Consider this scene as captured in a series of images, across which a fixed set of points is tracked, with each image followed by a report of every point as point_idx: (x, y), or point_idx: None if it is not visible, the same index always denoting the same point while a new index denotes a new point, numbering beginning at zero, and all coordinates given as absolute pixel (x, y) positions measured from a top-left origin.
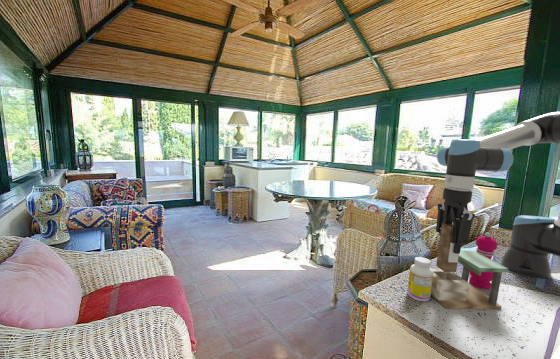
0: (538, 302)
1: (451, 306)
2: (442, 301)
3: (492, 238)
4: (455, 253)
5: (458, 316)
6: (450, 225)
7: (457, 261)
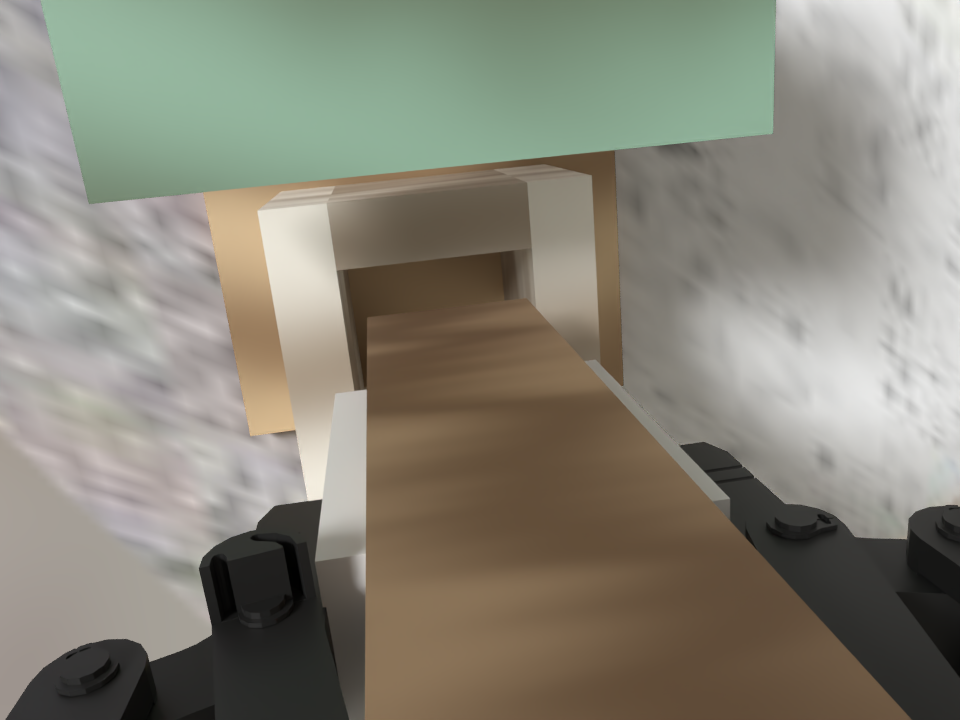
0: None
1: (619, 335)
2: None
3: None
4: None
5: (704, 330)
6: None
7: (601, 368)
